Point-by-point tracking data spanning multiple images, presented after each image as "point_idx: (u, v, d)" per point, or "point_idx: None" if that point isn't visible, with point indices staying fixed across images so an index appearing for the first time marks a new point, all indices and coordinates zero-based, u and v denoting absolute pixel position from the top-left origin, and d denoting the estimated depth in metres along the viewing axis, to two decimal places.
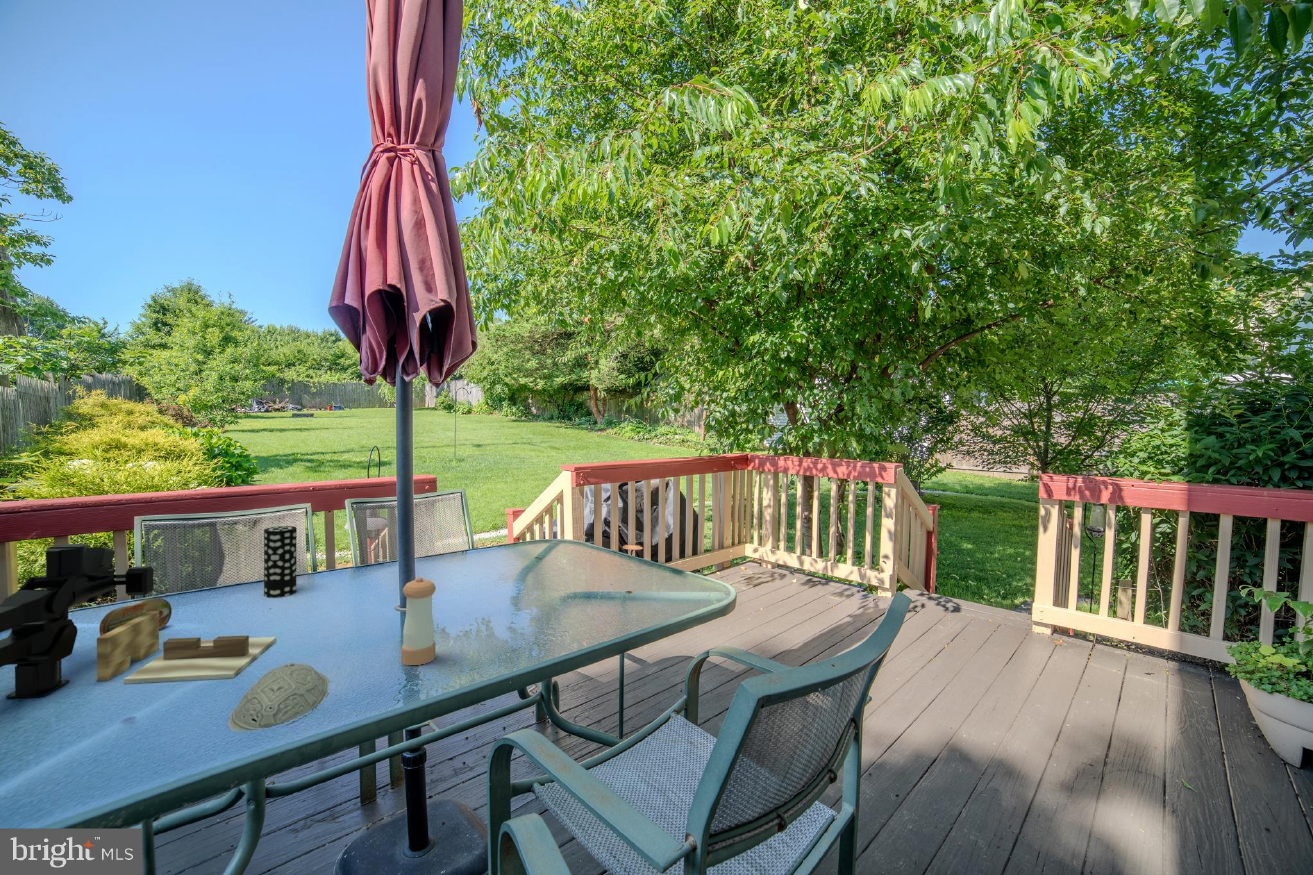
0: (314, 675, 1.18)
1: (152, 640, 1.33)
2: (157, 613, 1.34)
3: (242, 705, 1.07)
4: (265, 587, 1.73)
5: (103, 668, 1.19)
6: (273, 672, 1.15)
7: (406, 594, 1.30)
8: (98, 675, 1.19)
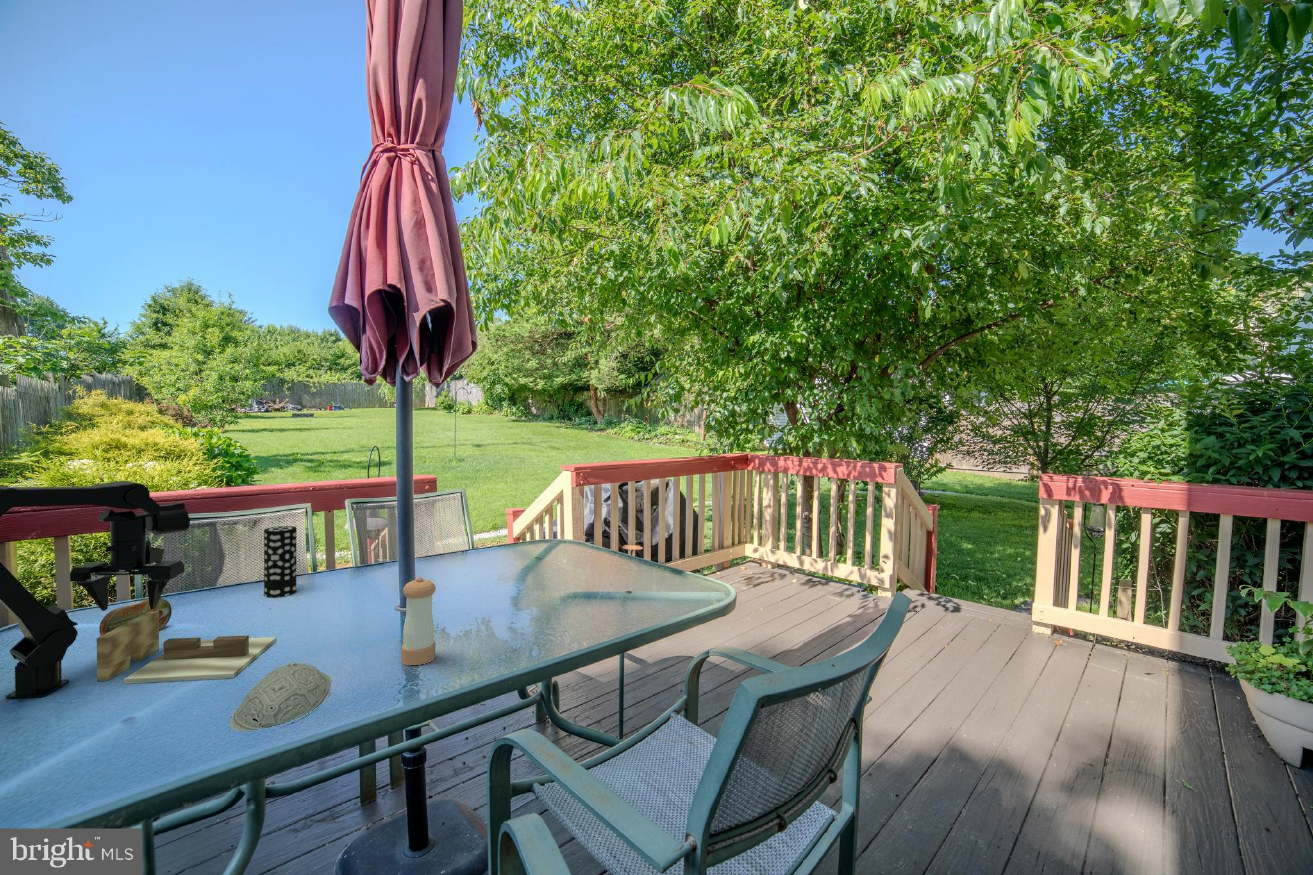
0: (317, 675, 1.18)
1: (152, 640, 1.33)
2: (157, 613, 1.34)
3: (244, 705, 1.07)
4: (265, 587, 1.73)
5: (103, 668, 1.19)
6: (276, 672, 1.15)
7: (406, 594, 1.30)
8: (98, 675, 1.19)
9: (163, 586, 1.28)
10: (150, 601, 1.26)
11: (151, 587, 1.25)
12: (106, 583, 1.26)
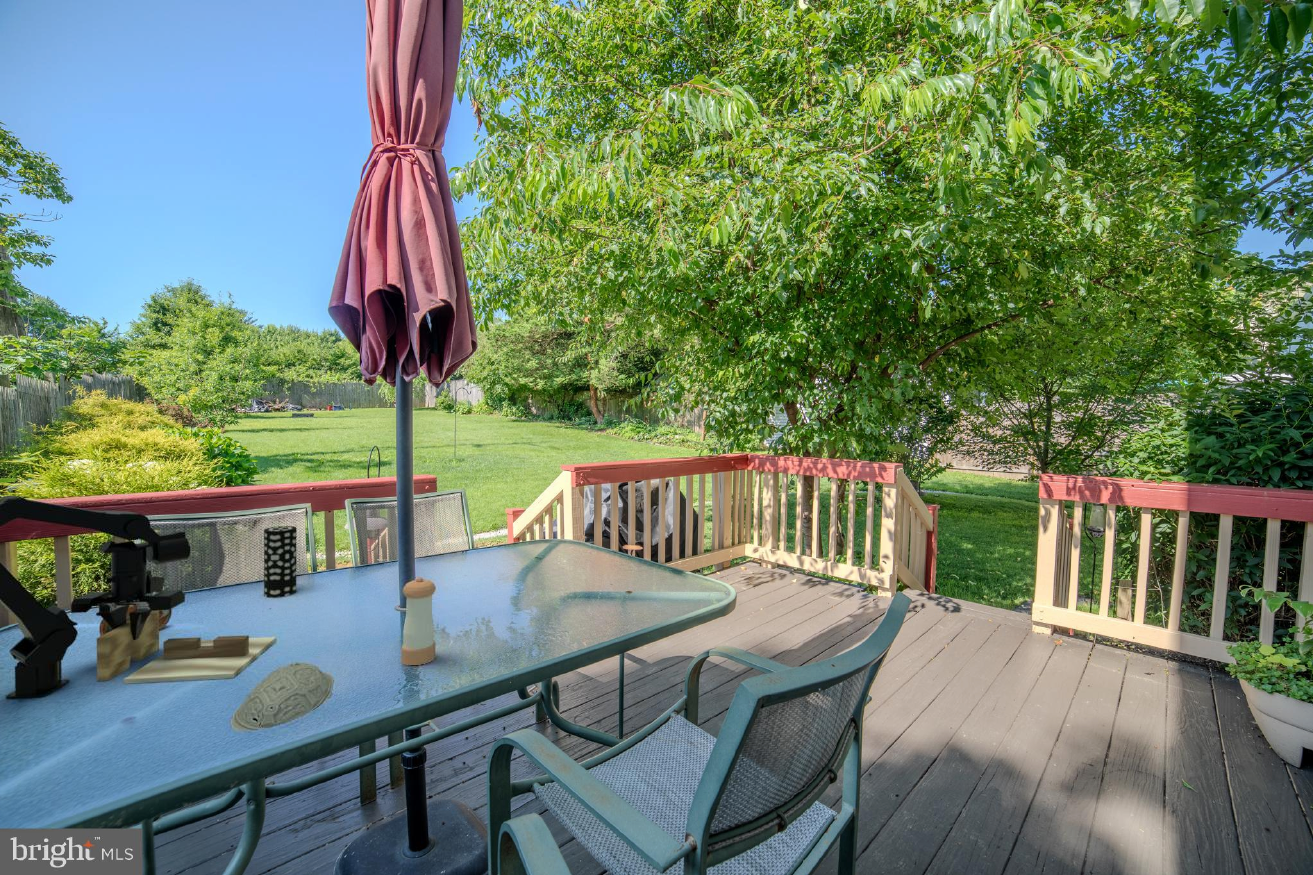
0: (318, 675, 1.18)
1: (152, 640, 1.33)
2: (157, 613, 1.34)
3: (245, 704, 1.07)
4: (265, 587, 1.73)
5: (103, 668, 1.19)
6: (278, 671, 1.15)
7: (406, 594, 1.30)
8: (98, 675, 1.19)
9: (146, 616, 1.28)
10: (133, 632, 1.26)
11: (133, 618, 1.25)
12: (125, 613, 1.27)
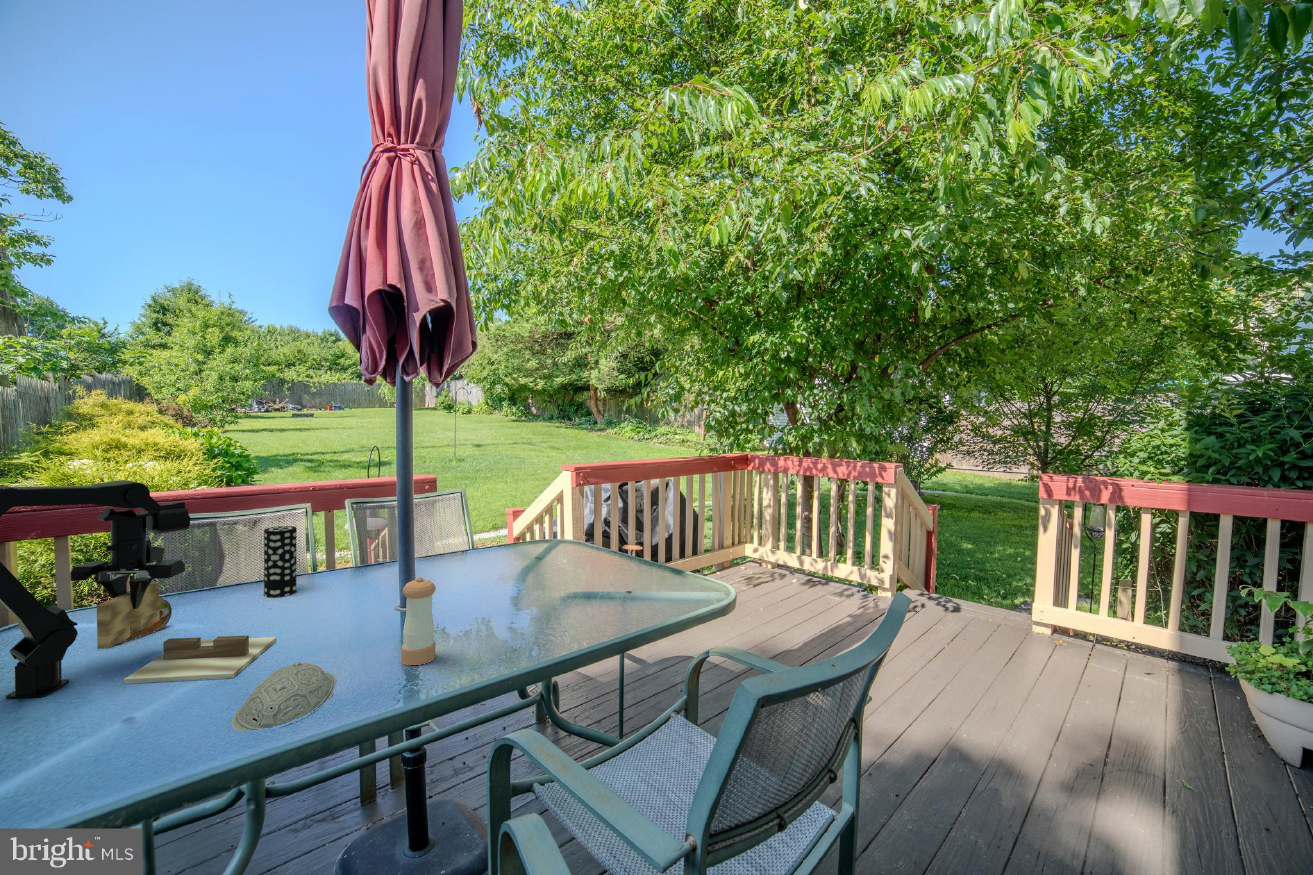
0: (320, 675, 1.17)
1: (152, 611, 1.33)
2: (157, 584, 1.34)
3: (246, 704, 1.07)
4: (265, 587, 1.73)
5: (103, 635, 1.19)
6: (280, 671, 1.15)
7: (406, 594, 1.30)
8: (98, 642, 1.19)
9: (146, 586, 1.28)
10: (133, 601, 1.26)
11: (133, 587, 1.24)
12: (125, 582, 1.27)
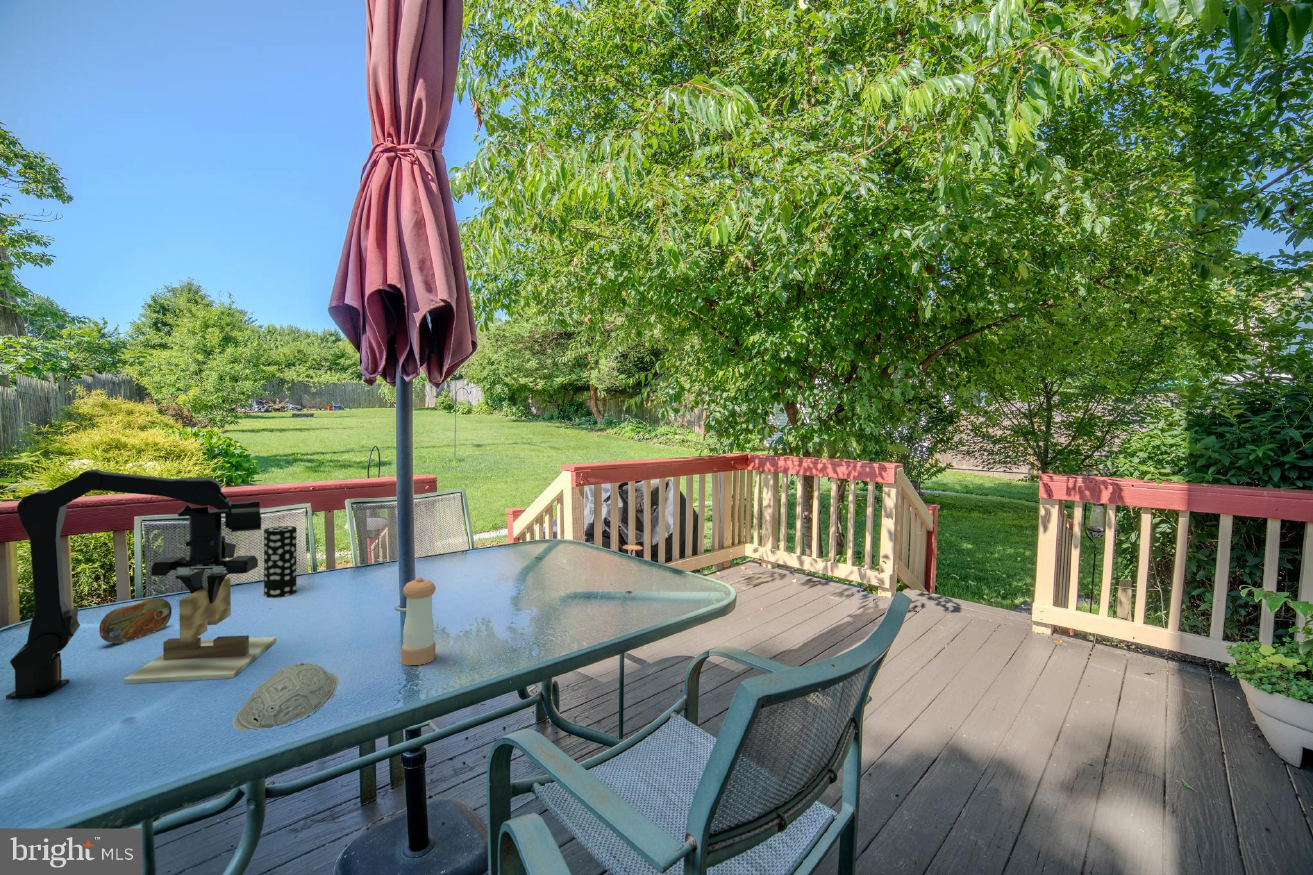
0: (322, 675, 1.17)
1: (225, 606, 1.35)
2: (229, 580, 1.37)
3: (248, 703, 1.07)
4: (265, 587, 1.73)
5: (185, 629, 1.22)
6: (282, 671, 1.15)
7: (406, 594, 1.30)
8: (180, 636, 1.22)
9: (221, 581, 1.31)
10: (210, 595, 1.28)
11: (211, 581, 1.27)
12: (201, 577, 1.30)
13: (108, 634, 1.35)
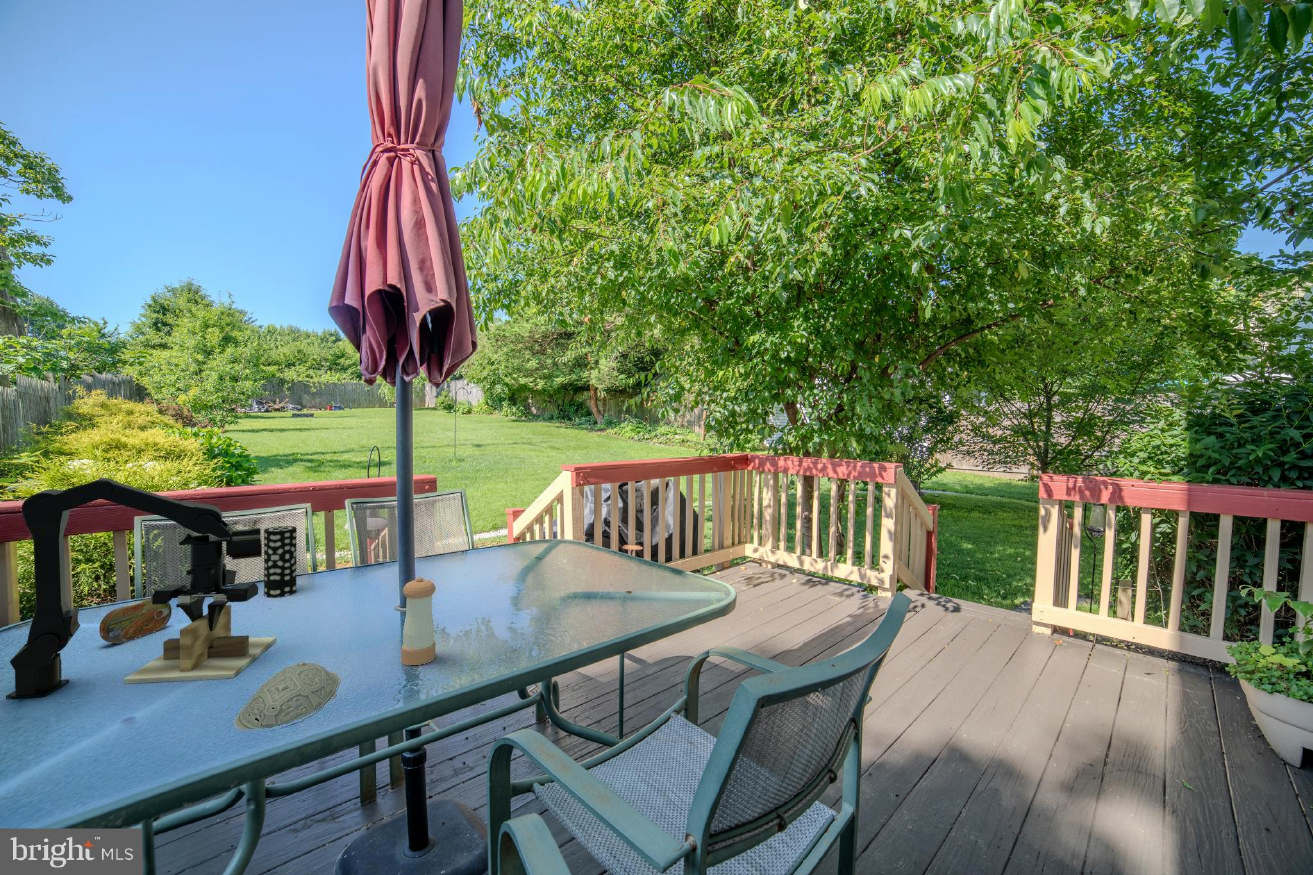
0: (324, 675, 1.17)
1: (225, 633, 1.36)
2: (229, 606, 1.37)
3: (249, 703, 1.07)
4: (265, 587, 1.73)
5: (185, 659, 1.22)
6: (284, 671, 1.15)
7: (406, 594, 1.30)
8: (181, 666, 1.22)
9: (222, 608, 1.31)
10: (210, 623, 1.29)
11: (211, 610, 1.27)
12: (201, 605, 1.30)
13: (108, 634, 1.35)
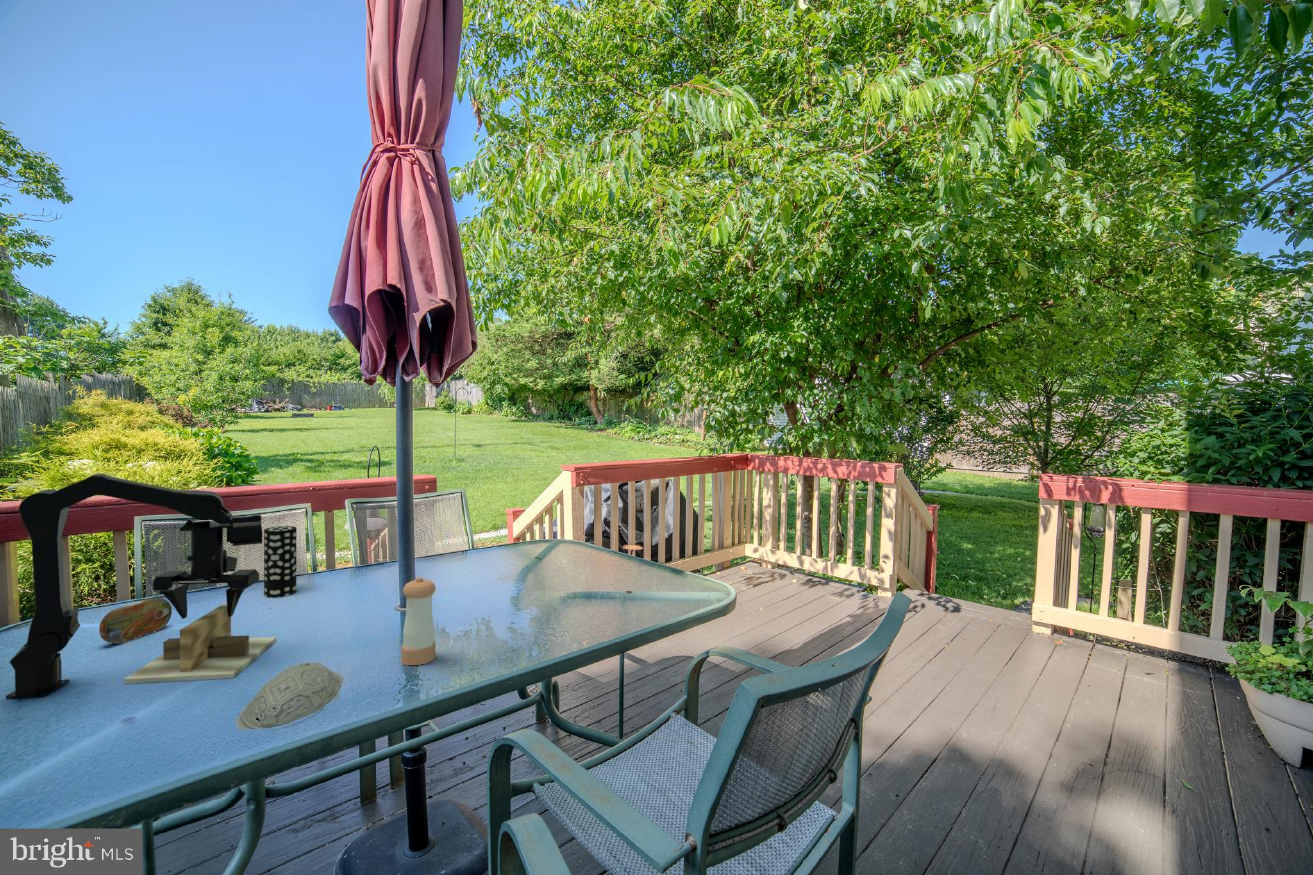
0: (326, 676, 1.17)
1: (225, 633, 1.36)
2: None
3: (251, 703, 1.08)
4: (265, 587, 1.73)
5: (185, 659, 1.22)
6: (287, 671, 1.15)
7: (406, 594, 1.30)
8: (181, 666, 1.22)
9: (240, 594, 1.31)
10: (228, 609, 1.29)
11: (230, 595, 1.28)
12: (185, 591, 1.30)
13: (108, 634, 1.35)
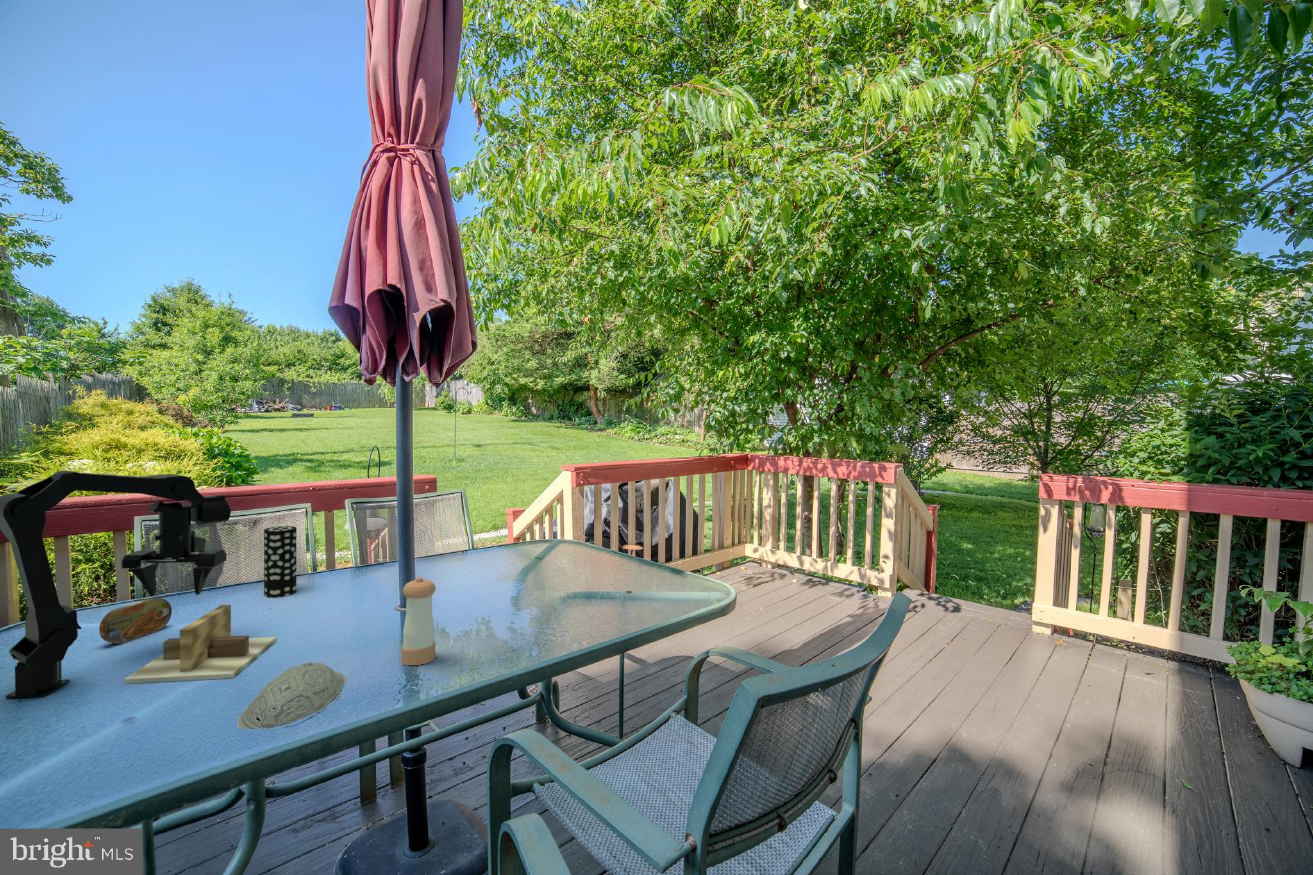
0: (329, 676, 1.17)
1: (225, 633, 1.36)
2: (229, 606, 1.37)
3: (253, 702, 1.08)
4: (265, 587, 1.73)
5: (185, 659, 1.22)
6: (290, 670, 1.16)
7: (406, 594, 1.30)
8: (181, 666, 1.22)
9: (207, 573, 1.36)
10: (195, 587, 1.34)
11: (197, 574, 1.33)
12: (154, 570, 1.34)
13: (108, 634, 1.35)
